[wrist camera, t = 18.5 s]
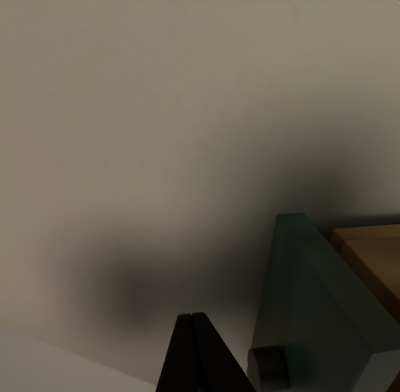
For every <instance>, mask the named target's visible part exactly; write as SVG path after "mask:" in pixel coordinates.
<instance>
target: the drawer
mask: <svg viewBox="0 0 400 392" xmlns="http://www.w3.org/2000/svg"><path fill="white" fill-rule="evenodd" d="M247 359H248V367H247V376H248V379H249V380H250V382H251V383H252V385H253V386H254V388H255V389H256V391H257V392H400V224H394V225H380V226H366V227H352V228H338V229H333V231H332V234H331V237H330V240H329V242H328V241H327V240H326V239H325V238H324V236H323V235H322V234H321V233H320V232H319V231H318V229H317V228H316V227H315V226H314V225H313V224H312V222H311V221H310V220H309V219H308V218H307V217H306V215H305V214H304V213H294V214H278V215H277V216H276V221H275V226H274V231H273V236H272V241H271V247H270V252H269V257H268V262H267V268H266V273H265V278H264V283H263V289H262V294H261V299H260V304H259V310H258V315H257V320H256V325H255V331H254V336H253V341H252V346H251V349H249V351H248V357H247Z"/></svg>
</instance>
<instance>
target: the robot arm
mask: <svg viewBox="0 0 400 392" xmlns="http://www.w3.org/2000/svg"><path fill="white" fill-rule="evenodd" d="M156 392H257V391H256V389H255V388H254V386H253V385H252V383H251V382H250V380H249V379H248V377H247V376H246V374H245V373H244V371H243V370H242V368H241V367H240V365H239V364H238V362H237V361H236V359H235V358H234V356H233V355H232V353H231V352H230V350H229V349H228V347H227V346H226V344H225V343H224V341H223V340H222V338H221V336H220V335H219V333H218V332H217V330H216V329H215V327H214V326H213V324H212V323H211V321H210V320H209V318H208V317H207V315H206V314H205V313H204V312H198V313H192V315H191V314H180V315H178V317H177V320H176V323H175V326H174V330H173V333H172V337H171V340H170V344H169V347H168V350H167V354H166V357H165V361H164V364H163V368H162V371H161V374H160V378H159V381H158V385H157V388H156Z"/></svg>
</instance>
